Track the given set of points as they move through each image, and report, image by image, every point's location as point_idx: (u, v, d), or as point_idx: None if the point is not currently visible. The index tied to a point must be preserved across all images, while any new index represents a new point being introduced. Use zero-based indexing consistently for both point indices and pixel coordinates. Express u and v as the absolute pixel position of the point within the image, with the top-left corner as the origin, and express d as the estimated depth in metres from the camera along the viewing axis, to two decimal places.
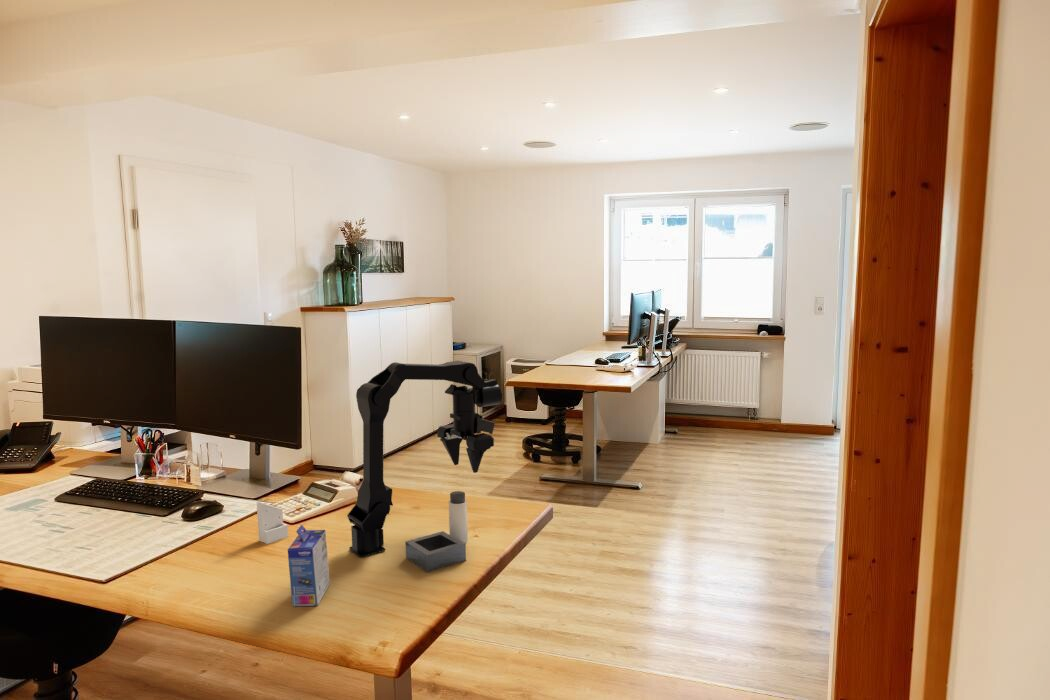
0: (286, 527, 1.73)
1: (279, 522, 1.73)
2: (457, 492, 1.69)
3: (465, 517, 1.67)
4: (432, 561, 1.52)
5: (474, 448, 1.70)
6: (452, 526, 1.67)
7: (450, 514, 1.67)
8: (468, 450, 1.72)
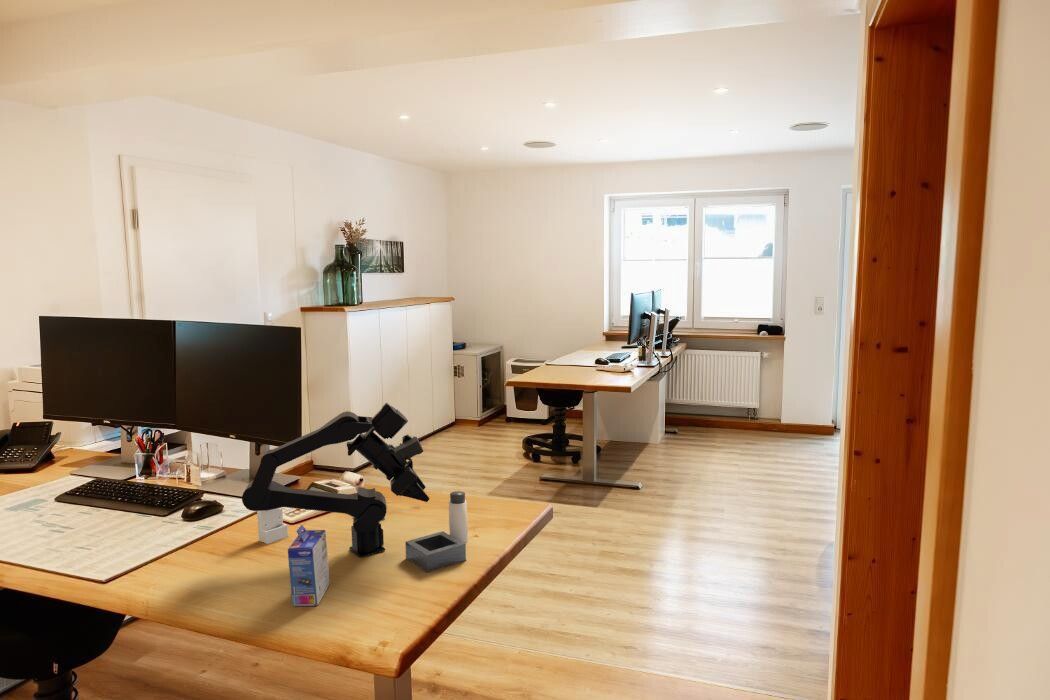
0: (286, 527, 1.73)
1: (279, 522, 1.73)
2: (457, 492, 1.69)
3: (465, 517, 1.67)
4: (432, 561, 1.52)
5: (396, 494, 1.55)
6: (452, 526, 1.67)
7: (450, 514, 1.67)
8: None
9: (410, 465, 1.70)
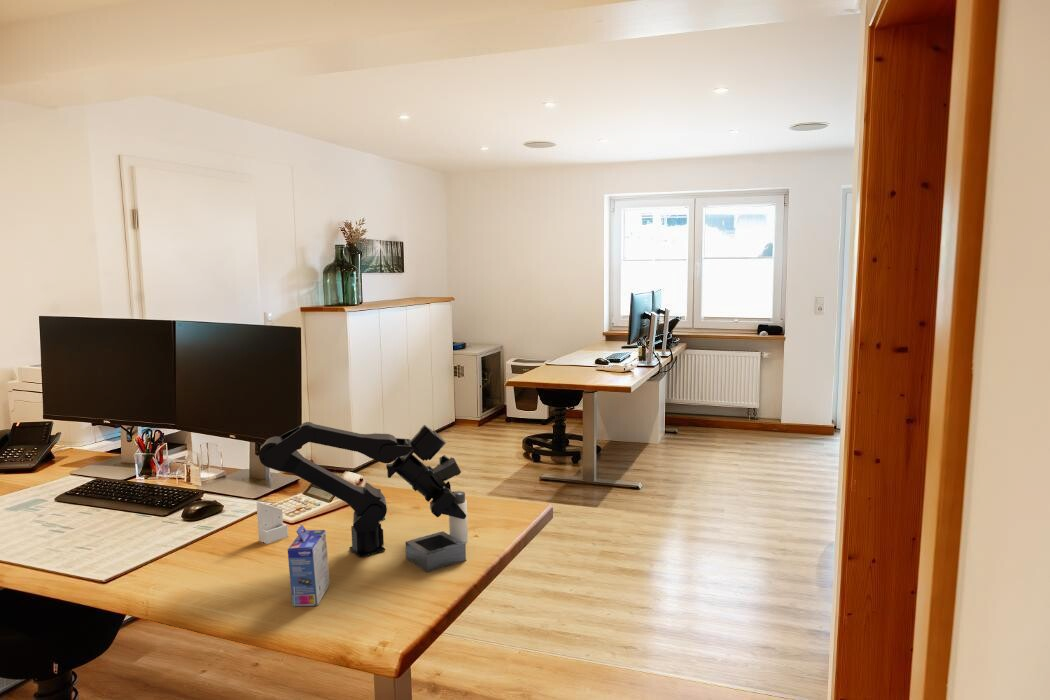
0: (286, 527, 1.73)
1: (279, 522, 1.73)
2: (457, 492, 1.69)
3: None
4: (432, 561, 1.52)
5: (437, 516, 1.58)
6: (452, 526, 1.67)
7: None
8: None
9: (448, 488, 1.70)
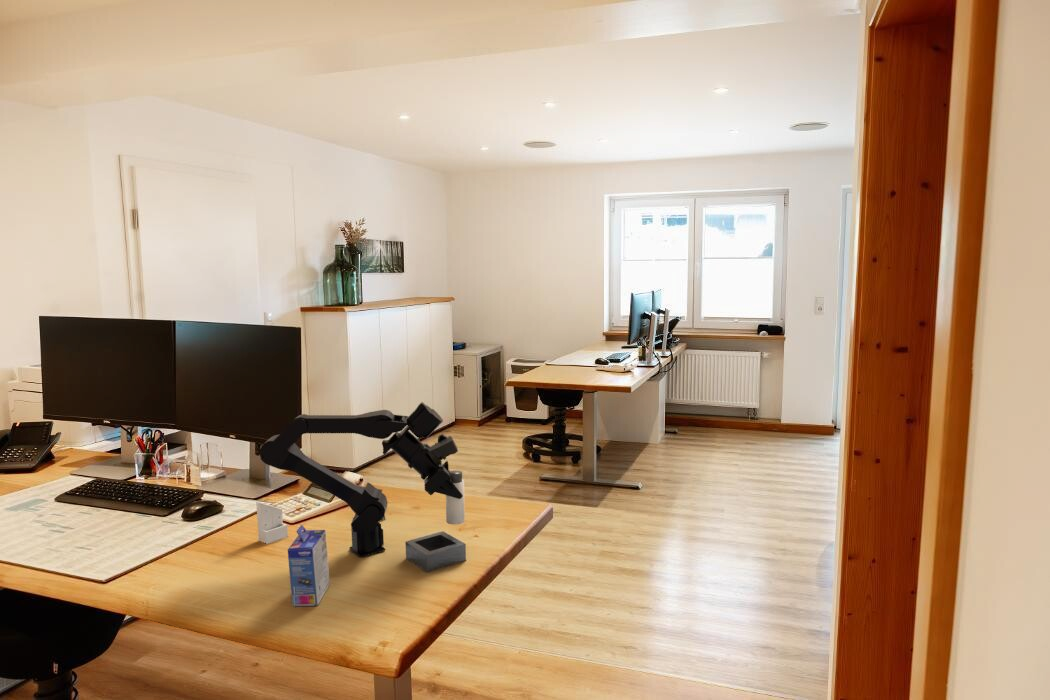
0: (286, 527, 1.73)
1: (279, 522, 1.73)
2: (455, 471, 1.66)
3: (462, 497, 1.64)
4: (432, 561, 1.52)
5: (430, 494, 1.55)
6: (448, 505, 1.64)
7: None
8: None
9: (446, 467, 1.67)
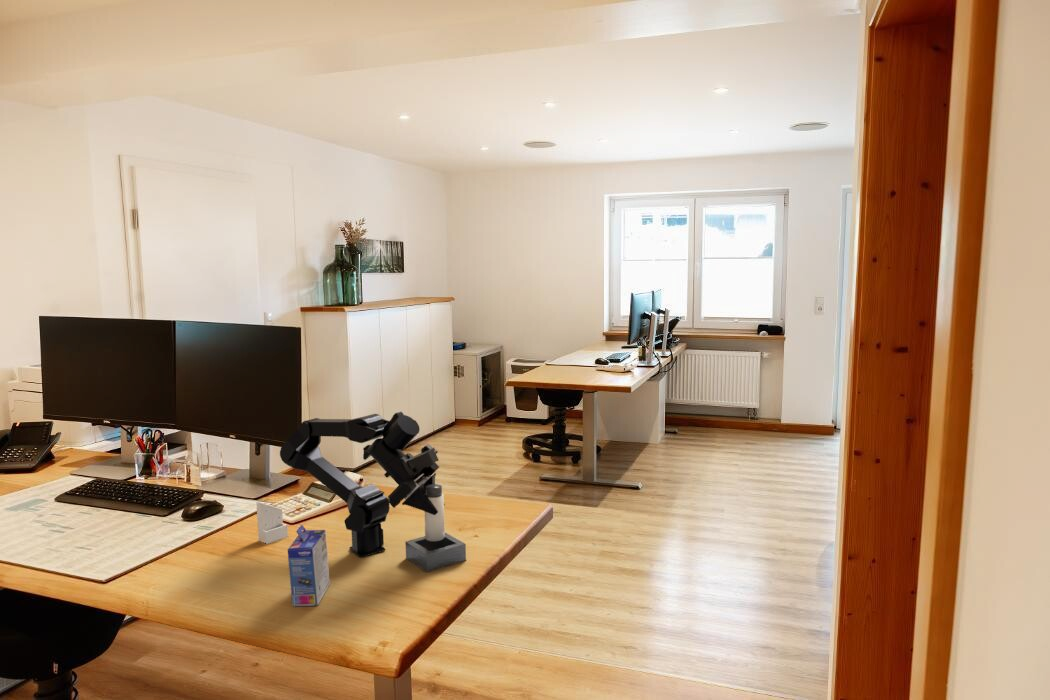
0: (286, 527, 1.73)
1: (279, 522, 1.73)
2: (436, 485, 1.57)
3: (438, 513, 1.55)
4: (432, 561, 1.52)
5: (393, 506, 1.49)
6: (425, 520, 1.56)
7: None
8: None
9: (430, 480, 1.59)
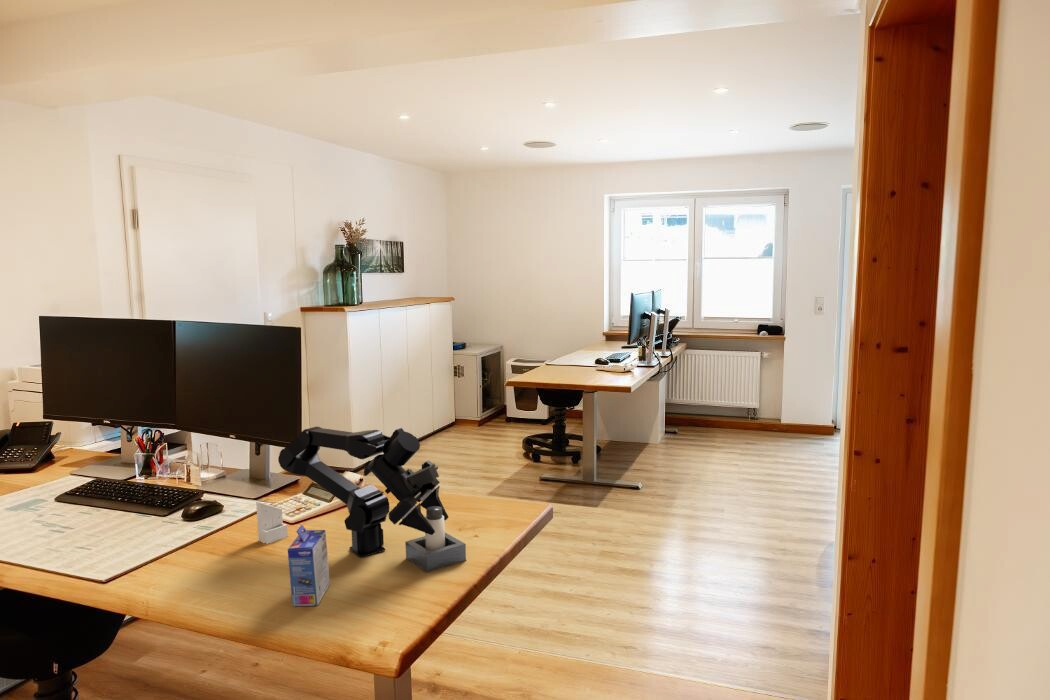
0: (286, 527, 1.73)
1: (279, 522, 1.73)
2: (436, 507, 1.58)
3: (439, 535, 1.56)
4: (432, 561, 1.52)
5: (393, 523, 1.50)
6: (426, 542, 1.57)
7: None
8: None
9: (434, 492, 1.62)
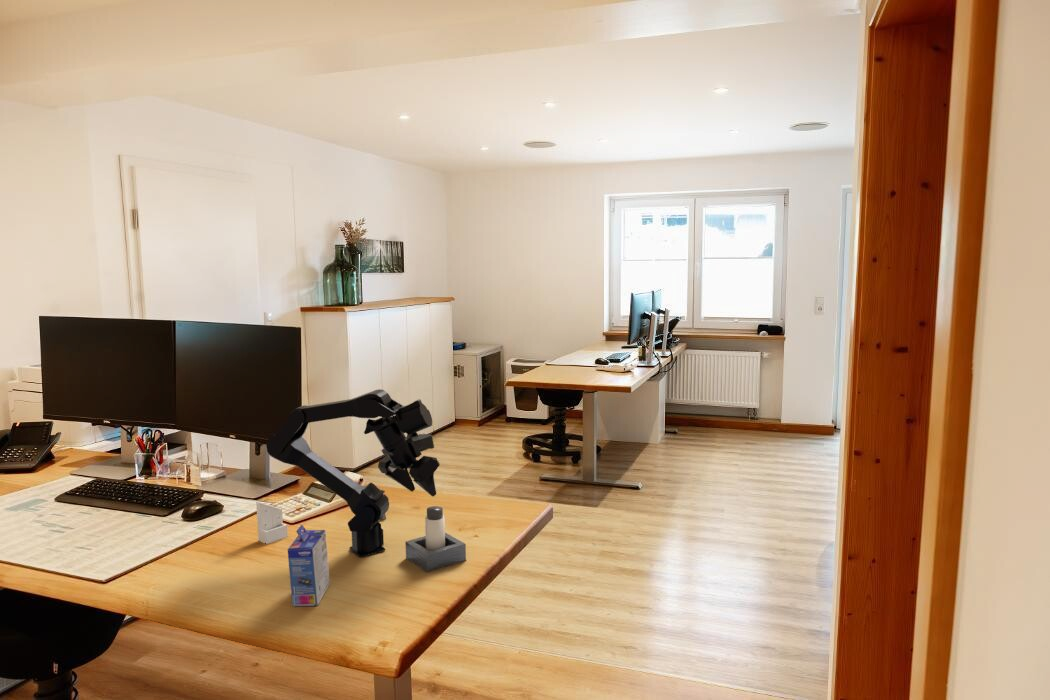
0: (286, 527, 1.73)
1: (279, 522, 1.73)
2: (437, 507, 1.58)
3: (439, 535, 1.56)
4: (432, 561, 1.52)
5: (420, 479, 1.55)
6: (426, 542, 1.57)
7: (425, 529, 1.57)
8: (416, 481, 1.58)
9: None
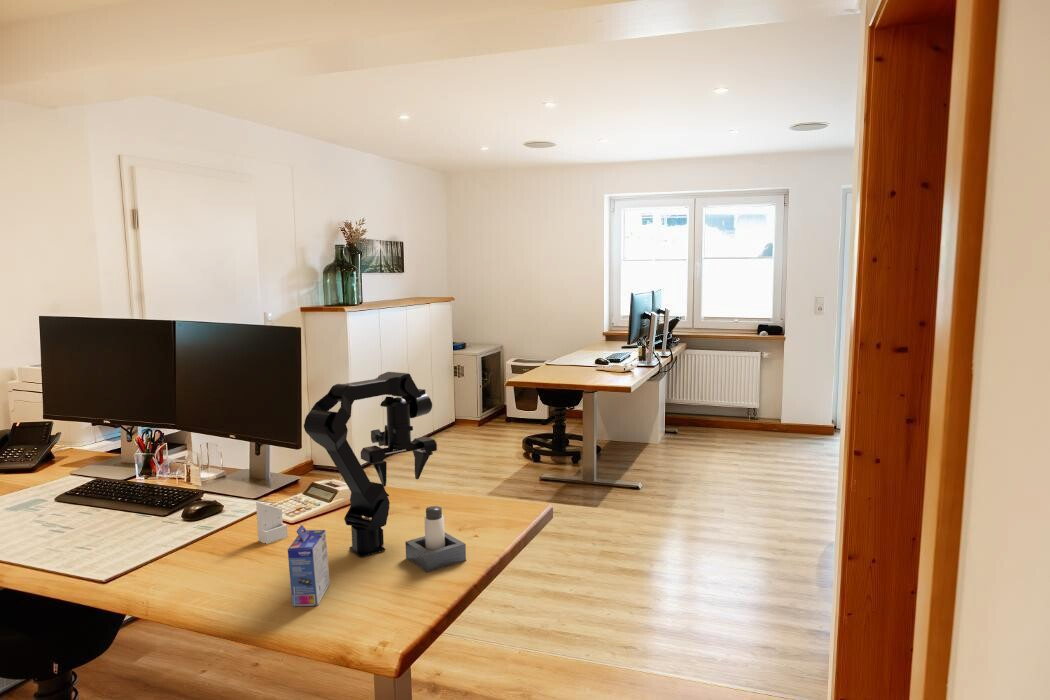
0: (285, 527, 1.73)
1: (278, 522, 1.73)
2: (436, 507, 1.58)
3: (439, 535, 1.56)
4: (432, 561, 1.52)
5: (436, 449, 1.76)
6: (425, 542, 1.57)
7: (425, 529, 1.57)
8: (427, 455, 1.75)
9: None
